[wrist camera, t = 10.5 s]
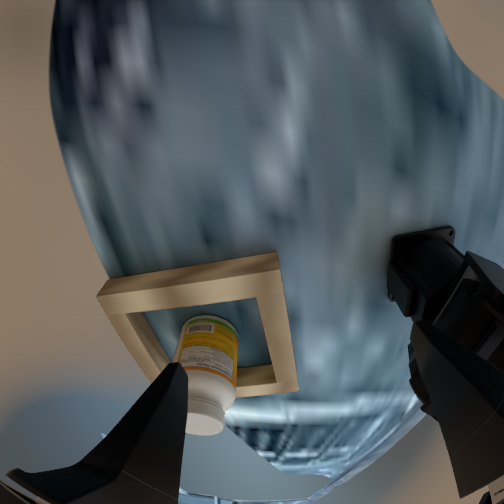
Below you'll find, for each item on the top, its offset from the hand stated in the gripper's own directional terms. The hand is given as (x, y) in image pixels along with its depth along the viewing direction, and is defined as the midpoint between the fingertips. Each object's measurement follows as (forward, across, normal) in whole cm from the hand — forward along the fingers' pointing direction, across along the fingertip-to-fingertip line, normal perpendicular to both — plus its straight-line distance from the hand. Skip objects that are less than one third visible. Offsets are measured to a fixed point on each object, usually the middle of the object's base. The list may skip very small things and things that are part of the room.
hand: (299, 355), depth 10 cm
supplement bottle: (+12, +8, +10) cm, 17 cm away
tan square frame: (+12, +8, +10) cm, 17 cm away
